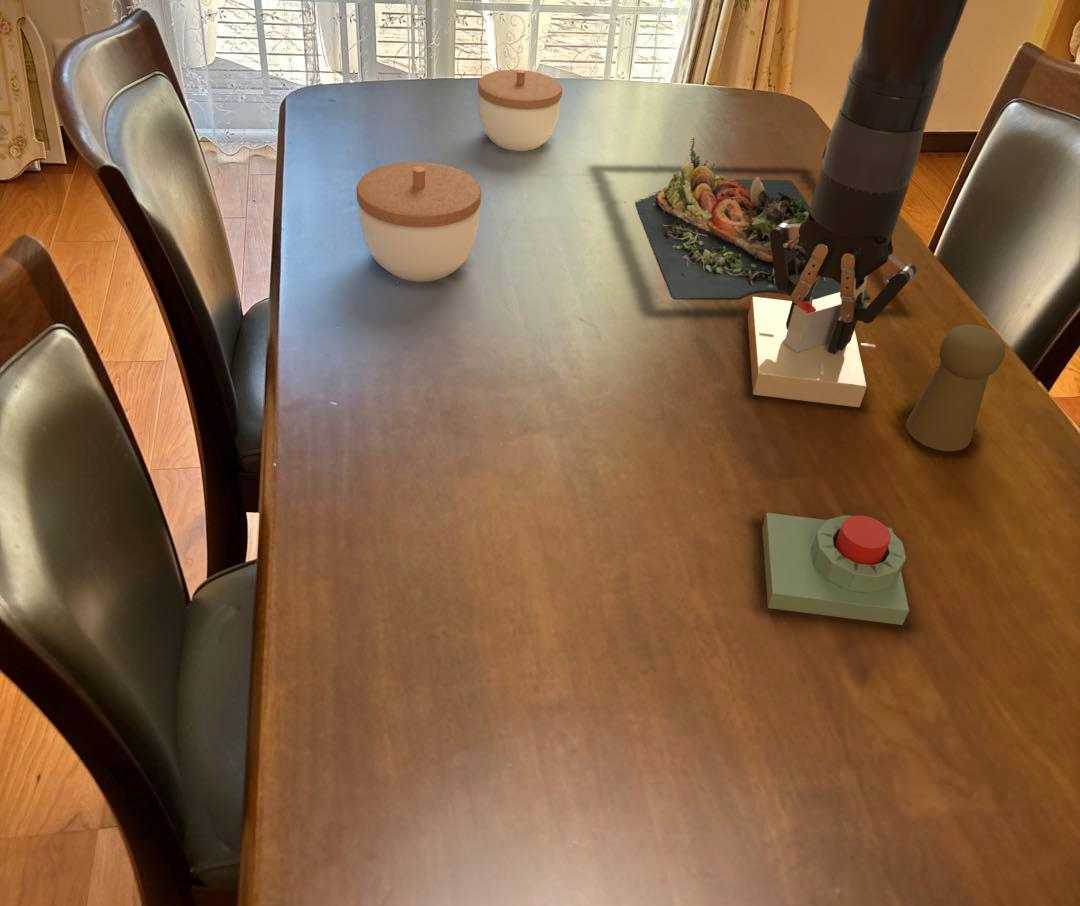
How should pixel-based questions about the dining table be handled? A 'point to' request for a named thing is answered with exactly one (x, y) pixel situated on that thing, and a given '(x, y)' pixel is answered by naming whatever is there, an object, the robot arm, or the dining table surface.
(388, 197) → the lidded bowl
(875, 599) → the button box
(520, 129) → the trinket box
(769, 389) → the switch base
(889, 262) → the robot arm
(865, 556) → the button
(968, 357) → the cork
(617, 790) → the dining table surface
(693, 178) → the plated dish
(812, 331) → the white switch lever
